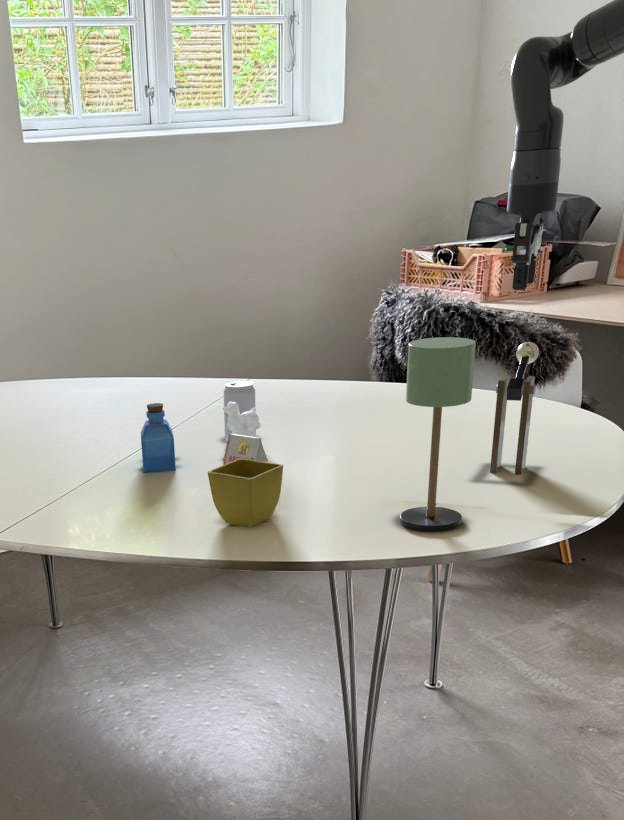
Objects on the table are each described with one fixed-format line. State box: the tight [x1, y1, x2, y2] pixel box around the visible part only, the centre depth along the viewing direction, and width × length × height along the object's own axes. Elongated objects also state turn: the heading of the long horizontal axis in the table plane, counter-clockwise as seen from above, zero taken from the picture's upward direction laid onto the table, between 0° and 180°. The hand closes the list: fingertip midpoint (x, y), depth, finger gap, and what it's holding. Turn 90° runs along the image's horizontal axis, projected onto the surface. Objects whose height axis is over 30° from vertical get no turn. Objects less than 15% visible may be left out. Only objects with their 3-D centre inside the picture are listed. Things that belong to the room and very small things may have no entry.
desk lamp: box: [399, 336, 477, 533], centre depth 139 cm, size 9×9×27 cm
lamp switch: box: [507, 341, 540, 402], centre depth 159 cm, size 13×4×4 cm, turn 151°
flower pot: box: [207, 459, 284, 528], centre depth 150 cm, size 9×9×9 cm
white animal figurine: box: [222, 401, 262, 443], centre depth 180 cm, size 8×7×12 cm
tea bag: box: [222, 434, 269, 465], centre depth 164 cm, size 4×7×10 cm, turn 46°
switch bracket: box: [489, 374, 537, 475], centre depth 159 cm, size 10×8×17 cm
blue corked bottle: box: [140, 402, 177, 473], centre depth 182 cm, size 6×6×12 cm
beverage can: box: [223, 380, 257, 442], centre depth 194 cm, size 6×6×12 cm
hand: (523, 286), depth 161 cm, fingers open, 8 cm apart
